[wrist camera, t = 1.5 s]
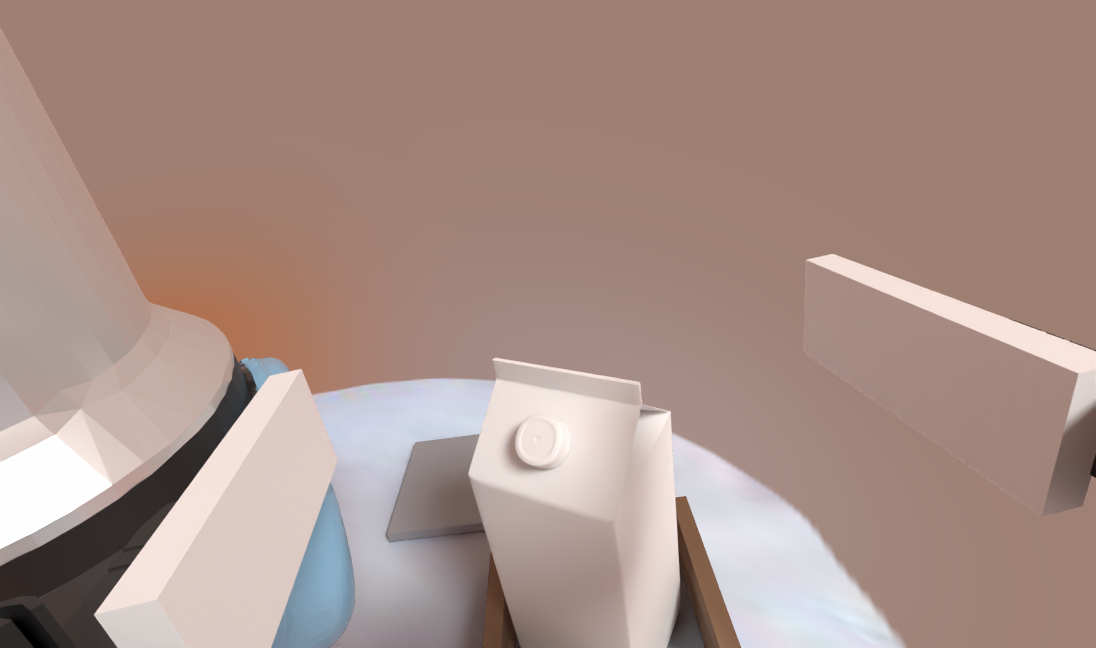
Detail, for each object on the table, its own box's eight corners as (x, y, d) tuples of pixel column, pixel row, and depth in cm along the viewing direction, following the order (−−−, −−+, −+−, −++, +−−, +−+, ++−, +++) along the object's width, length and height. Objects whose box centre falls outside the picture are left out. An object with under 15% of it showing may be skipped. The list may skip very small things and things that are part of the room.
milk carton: (578, 567, 36) (531, 322, 27) (682, 606, 32) (667, 339, 23) (525, 668, 30) (444, 404, 22) (642, 727, 27) (603, 441, 18)
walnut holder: (490, 785, 25) (474, 740, 24) (503, 561, 37) (493, 519, 35) (759, 757, 25) (763, 709, 23) (687, 539, 37) (685, 496, 35)
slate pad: (389, 542, 40) (386, 534, 40) (417, 449, 50) (415, 442, 50) (531, 524, 40) (529, 517, 39) (531, 434, 50) (530, 427, 49)
